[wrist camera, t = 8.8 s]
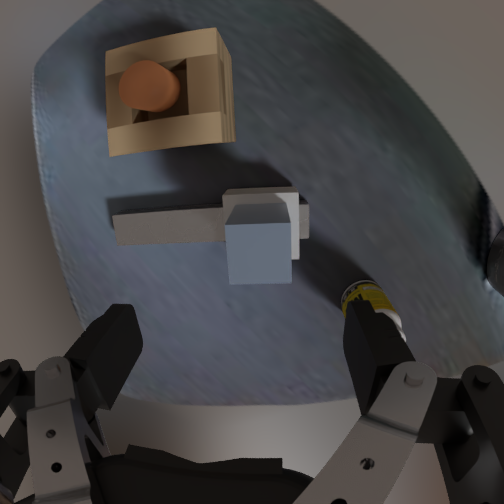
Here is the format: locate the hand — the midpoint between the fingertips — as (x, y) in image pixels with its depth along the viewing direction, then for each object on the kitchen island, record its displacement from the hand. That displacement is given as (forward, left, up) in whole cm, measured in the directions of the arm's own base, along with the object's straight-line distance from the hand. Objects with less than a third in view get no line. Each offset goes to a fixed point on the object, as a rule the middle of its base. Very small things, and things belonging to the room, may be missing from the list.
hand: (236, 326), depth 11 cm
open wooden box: (+6, -10, -18) cm, 22 cm away
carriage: (0, +1, -18) cm, 18 cm away
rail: (+5, +1, -18) cm, 19 cm away
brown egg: (+6, -10, -11) cm, 16 cm away
